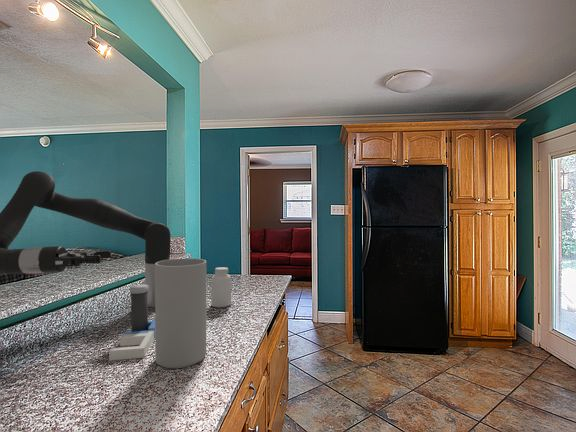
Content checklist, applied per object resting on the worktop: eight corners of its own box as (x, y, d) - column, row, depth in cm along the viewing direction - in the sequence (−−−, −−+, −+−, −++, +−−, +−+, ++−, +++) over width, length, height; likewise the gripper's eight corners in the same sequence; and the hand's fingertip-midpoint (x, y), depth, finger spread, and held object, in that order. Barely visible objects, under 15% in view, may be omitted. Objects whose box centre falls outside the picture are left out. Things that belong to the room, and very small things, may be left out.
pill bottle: (234, 303, 129) (234, 267, 129) (224, 308, 121) (224, 270, 121) (218, 301, 131) (218, 265, 131) (207, 306, 124) (207, 269, 124)
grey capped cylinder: (127, 335, 95) (126, 287, 94) (142, 330, 99) (142, 283, 99) (136, 339, 92) (136, 289, 92) (151, 334, 96) (151, 285, 96)
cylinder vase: (177, 375, 72) (177, 268, 72) (145, 361, 79) (144, 263, 79) (216, 354, 83) (216, 261, 83) (184, 343, 90) (184, 257, 89)
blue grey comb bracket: (109, 360, 79) (109, 348, 79) (132, 329, 100) (132, 319, 100) (144, 357, 81) (144, 345, 81) (160, 327, 101) (160, 318, 101)
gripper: (57, 267, 97) (114, 264, 100) (30, 278, 83) (96, 274, 86) (56, 244, 97) (113, 241, 100) (28, 250, 83) (95, 247, 86)
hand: (105, 256), depth 93 cm, fingers open, 8 cm apart
